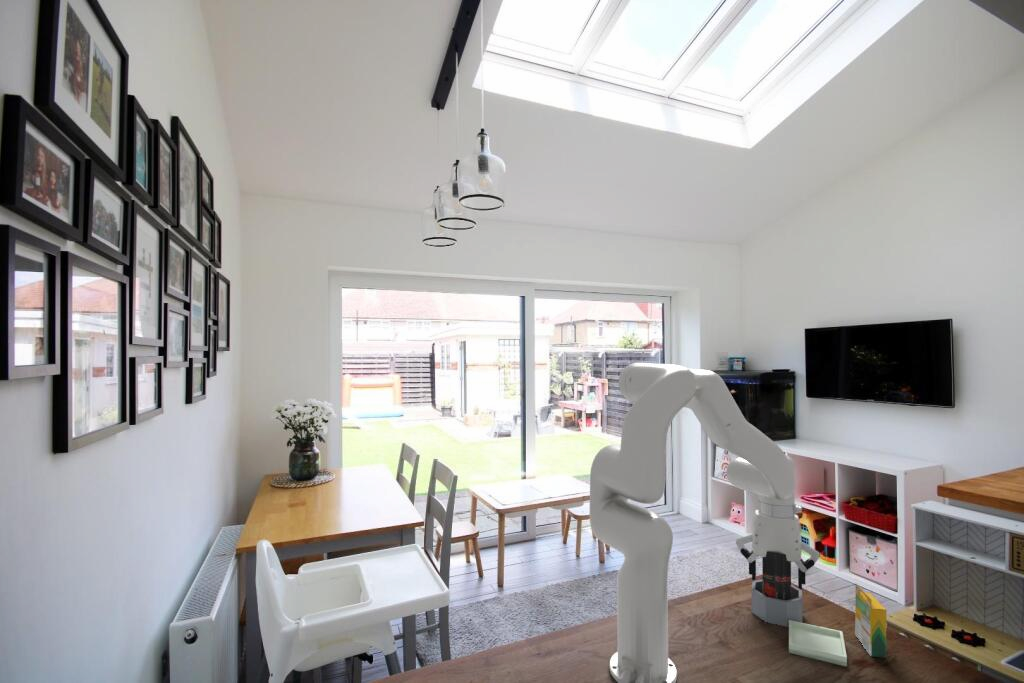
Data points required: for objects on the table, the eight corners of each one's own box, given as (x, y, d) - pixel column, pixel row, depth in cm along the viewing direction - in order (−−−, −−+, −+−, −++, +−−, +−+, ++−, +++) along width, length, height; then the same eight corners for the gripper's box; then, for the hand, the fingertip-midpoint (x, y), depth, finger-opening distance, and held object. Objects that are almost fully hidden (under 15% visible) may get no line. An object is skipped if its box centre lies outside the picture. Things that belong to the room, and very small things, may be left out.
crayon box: (887, 658, 105) (887, 600, 105) (870, 657, 105) (870, 599, 105) (870, 637, 112) (870, 583, 112) (854, 636, 113) (854, 582, 112)
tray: (846, 666, 102) (846, 657, 102) (788, 652, 107) (788, 643, 107) (842, 639, 111) (842, 631, 111) (788, 627, 116) (788, 619, 116)
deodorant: (796, 620, 119) (796, 554, 119) (769, 620, 119) (769, 554, 119) (783, 606, 125) (783, 544, 125) (758, 606, 125) (757, 544, 125)
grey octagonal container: (802, 630, 115) (802, 605, 115) (750, 618, 120) (750, 594, 120) (801, 608, 124) (801, 584, 124) (753, 598, 129) (753, 575, 129)
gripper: (818, 509, 121) (818, 583, 121) (737, 499, 129) (737, 568, 129) (820, 519, 114) (820, 597, 115) (734, 508, 122) (734, 581, 123)
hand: (776, 582), depth 122 cm, fingers open, 9 cm apart
